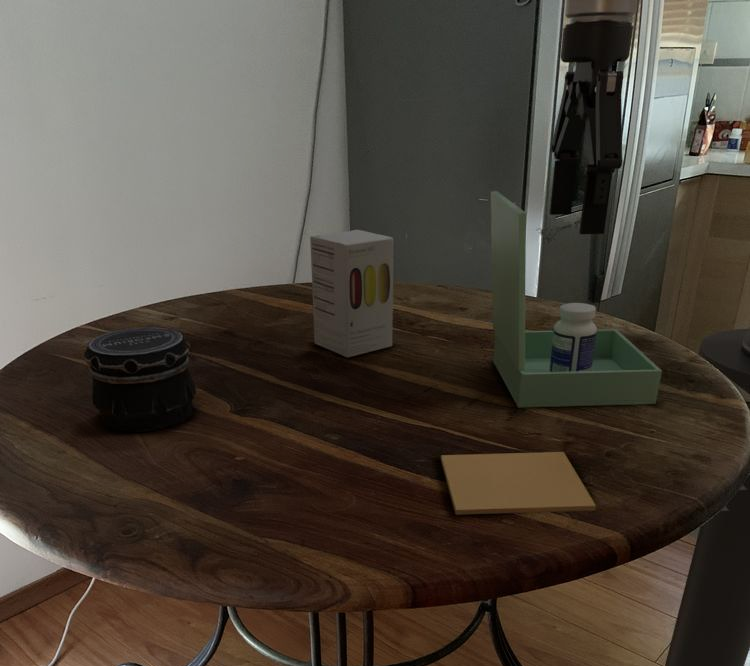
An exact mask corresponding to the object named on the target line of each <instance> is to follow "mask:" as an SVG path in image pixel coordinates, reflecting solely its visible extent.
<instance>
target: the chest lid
mask: <svg viewBox="0 0 750 666" xmlns="http://www.w3.org/2000/svg"><path fill="white" fill-rule="evenodd" d="M490 224H491V225H490V227H491V234H490V235H491V280H492V281H491V293H492V295H491V297H492V330H493V331H494V334H495V333H496V335H497V336H498V338H499V340H500V341H501V343H502V345H503V346H504V348H505V349H506V351H507V353H508V354H509V356H510V358H511V359H512V361H513V363H514V364H515V366H516V367H517V369H518V371H524V370H525V331H526V271H527V270H526V266H527V265H526V263H527V261H526V260H527V254H526V253H527V250H526V249H527V212H526V211H524V210H523V209H522V208H520V207H519V206H517V205H516V204H515V203H514V202H512V201H511V200H509V199H508V198H507V197H505V196H504V195H503V194H502V193H500V192H499V191H497V190H492V191H490Z"/></svg>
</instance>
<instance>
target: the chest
mask: <svg viewBox="0 0 750 666" xmlns="http://www.w3.org/2000/svg"><path fill="white" fill-rule="evenodd" d="M553 331H554V330H527V331H526V330H525V370H524V371H518V369H517V367H516V366H515V364H514V363H513V361H512V359H511V358H510V356H509V354H508V353H507V351H506V349H505V348H504V346H503V345H502V343H501V341H500V340H499V338H498V336H497V335H496V333H495V332H494V345H493V357H492V359H493V360H492V362H493V364H494V366H495V367H496V369H497V372H498V373H499V375H500V376H501V378H502V381H503V382H504V384H505V386H506V388H507V390H508V391H509V393H510V395H511V397H512V399H513V401H514V402H515V404H516V406H517V408H520V409H521V408H549V407H550V408H551V407H557V408H558V407H589V406H590V407H594V406H595V407H596V406H630V405H631V406H632V405H656V403H657V399H658V393H659V388H660V383H661V378H662V373H663V370H662V369H661V368H660V367H659V366H657V365H656V363H654V362H653V361H652V360H651V359H650V358H649V357H648V356H647V355H645V354H644V353H643V352H642V351H641V350H640V349H639V348H638V347H637V346H636V345H634V344H633V342H631V341H630V340H629V339H628V338H627V337H626V336H625V335H624V334H623V333H621V332H620V331H619V330H618V329H617V328H613V329H612V328H611V329H610V328H607V329H597V332H596V340H595V347H594V355H593V362H592V370H591V371H573V372H549V369H550V360H551V351H552V341H553Z"/></svg>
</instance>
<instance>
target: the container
mask: <svg viewBox="0 0 750 666" xmlns="http://www.w3.org/2000/svg"><path fill="white" fill-rule="evenodd" d="M190 349H191V345H190V342H189V341H188V340H187V339H185V337H184V336H183V335H182V333H181V332H179V331H175V330H173V329H168V328H165V327H152V326H151V327H135V328H125V329H120V330H115V331H110V332H107V333H104V334H101V335H98V336H96V337H94V338H93V339H91V340H90V341H89V342H88V343H87V346H86V349H85V351H84V353H83V360H84V362H85V363H87V364H88V365H89V366H88V373H89V375H90V376H91V380H92V392H91V393H92V394H91V403H92V404H93V406H94V407H95V408H96V410H98V411H99V414H100V415H101V417H102V421H103V423H104V425H106V426H107V427H108V428H110V429H112V430H116V431H122V432H151V431H157V430H162V429H165V428H167V427H170V426H175V425H177V424H180V423H182V422H184V421H185V420H187V419H188V418H189V417H190V416H191V415H192V414H193V407H194V406H193V400H194V398H195V396H196V394H197V387H196V384H195V382H194V380H193V377H192V375H191V372H190V370H189V366H190V358H189V355H188V354H189V352H190Z"/></svg>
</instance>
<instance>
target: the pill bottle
mask: <svg viewBox="0 0 750 666" xmlns="http://www.w3.org/2000/svg"><path fill="white" fill-rule="evenodd" d="M596 311H597V307H596V306H595V305H592V304H590V303H585V302H584V303H583V302H568V303H564V304H562V305H560V307H559V313H558V315H559V318H560V319H559V320H558V321H556V323H555V324H554V326H553V330H552V331H553V341H552V351H551V360H550V369H549V372H573V371H591V370H592V362H593V355H594V347H595V340H596V332H597V330H598V327H597V326H596V324H595V323H594V322H593V319H594V318H596Z"/></svg>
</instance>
